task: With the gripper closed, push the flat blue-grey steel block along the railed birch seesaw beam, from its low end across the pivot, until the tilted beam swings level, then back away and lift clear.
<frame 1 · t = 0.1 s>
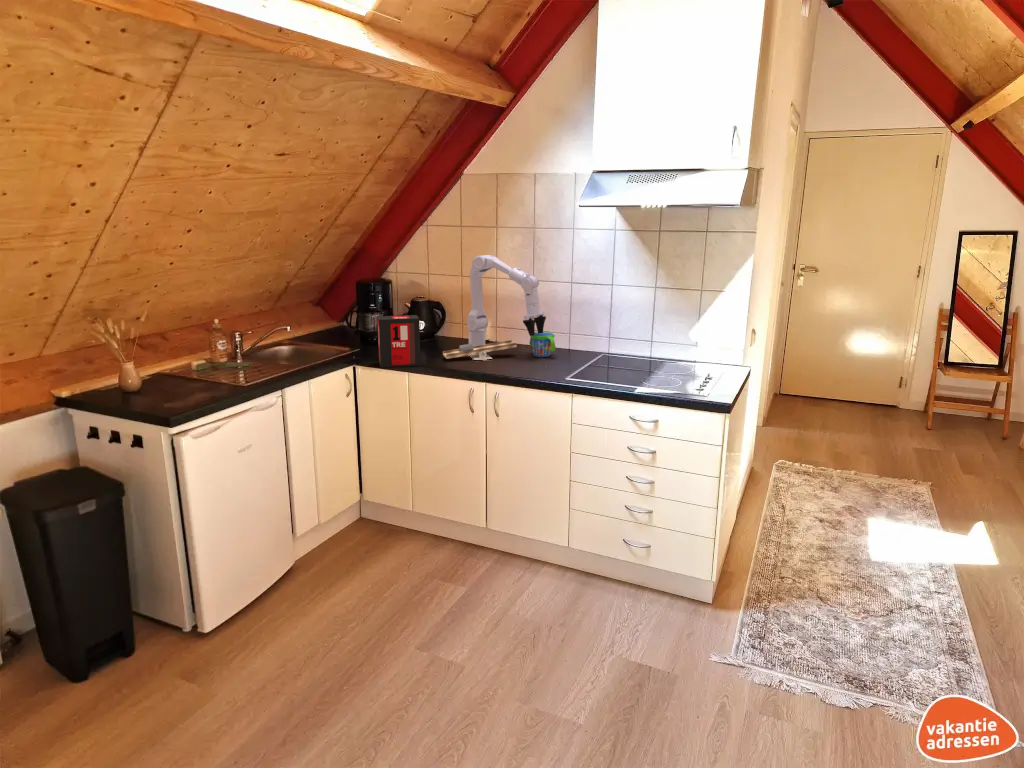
hand: (536, 334, 294), 11 cm above the counter, tool pointing down, fingers open, 7 cm apart
snack cup: (542, 356, 300), on the counter
steel block: (466, 351, 292), point 3 cm above the counter, tilted 6°, touching beam
cleaning product box: (399, 364, 282), on the counter
fulcrum stand: (479, 357, 295), on the counter
beam: (479, 349, 294), point 4 cm above the counter, hinge at -6.2°, touching steel block
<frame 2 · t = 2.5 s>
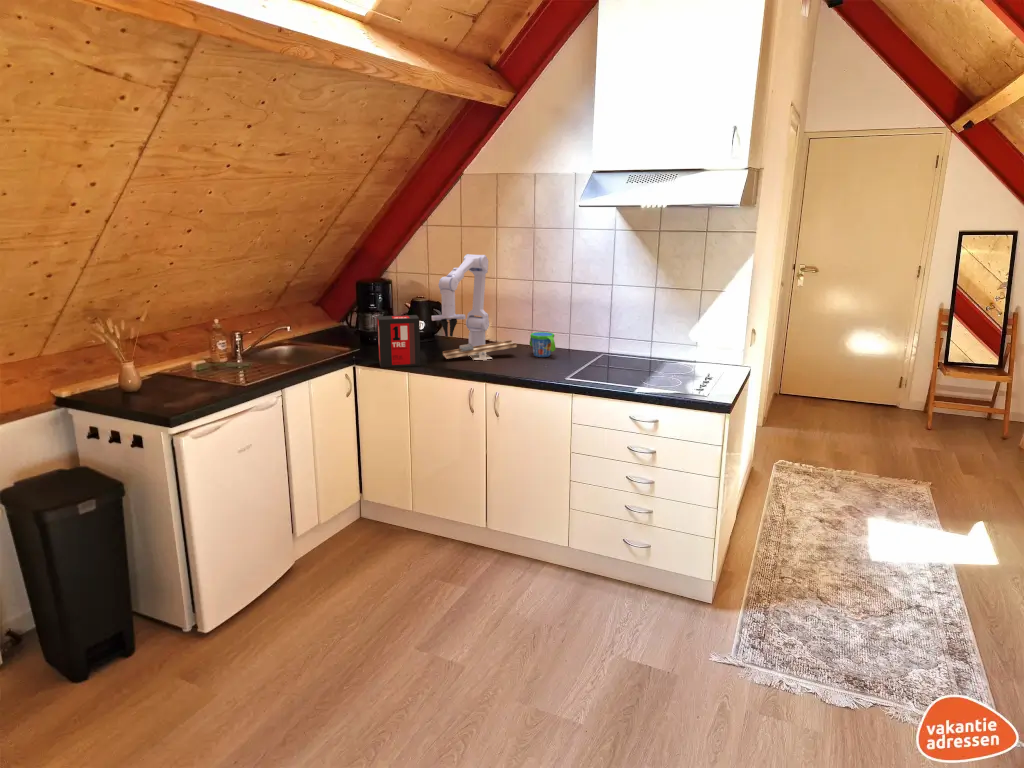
hand: (448, 336, 288), 10 cm above the counter, tool pointing down, fingers closed
nothing on the counter moved.
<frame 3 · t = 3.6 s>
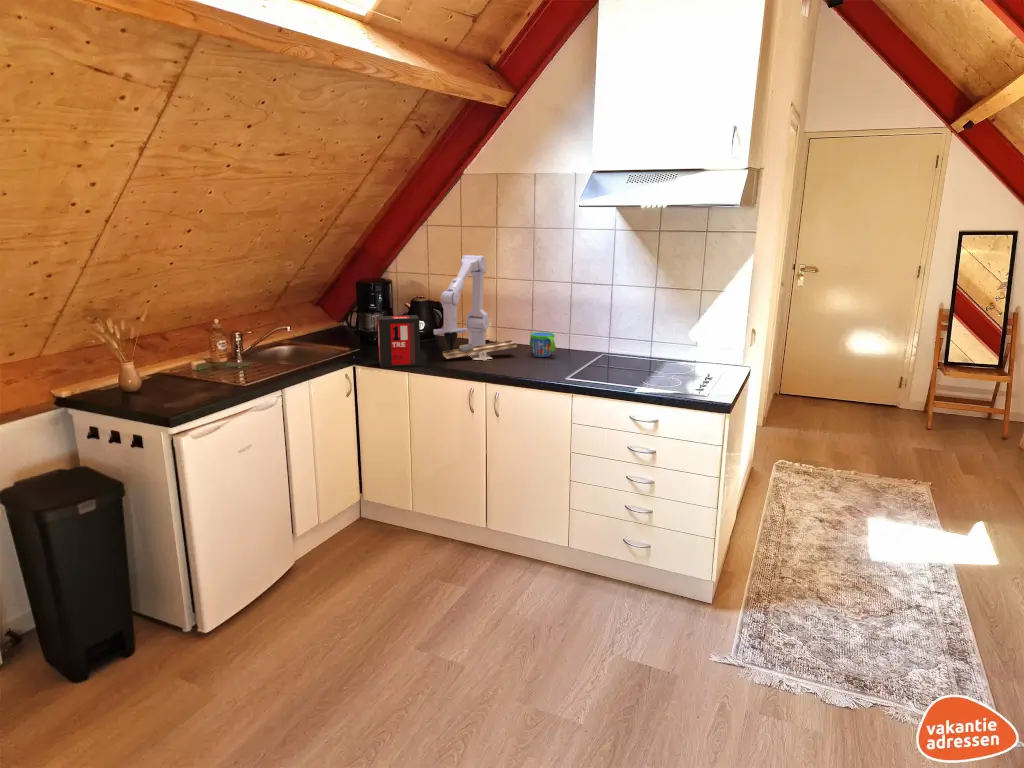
hand: (450, 349, 290), 4 cm above the counter, tool pointing down, fingers closed
nothing on the counter moved.
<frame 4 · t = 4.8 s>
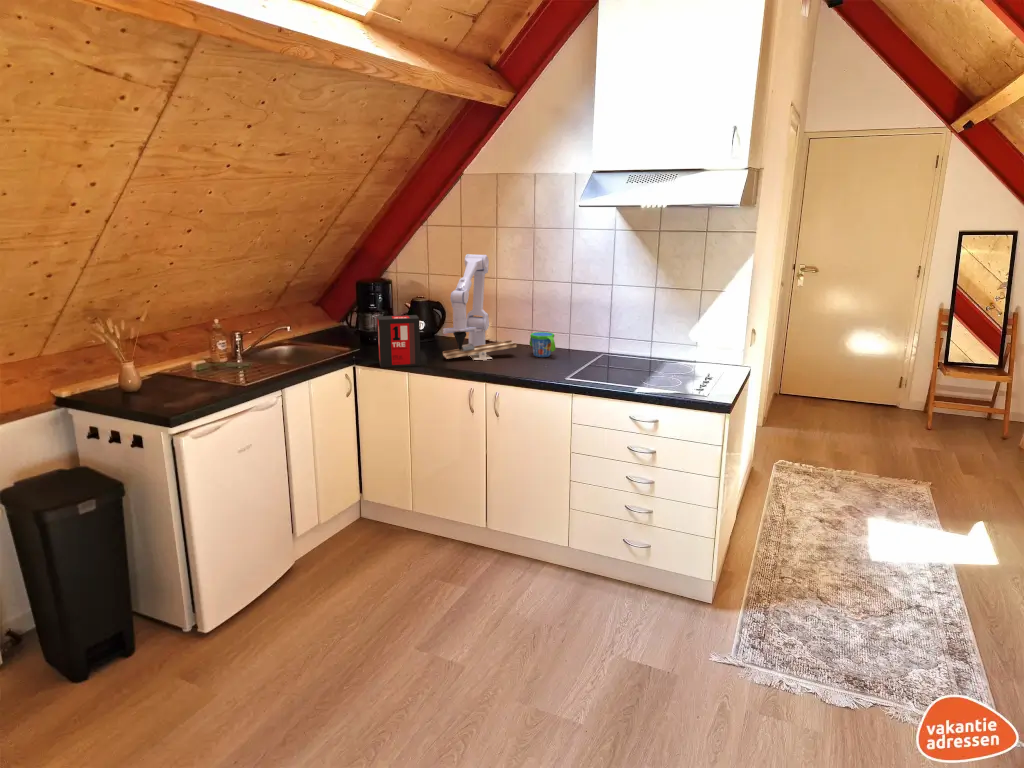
hand: (459, 348, 291), 5 cm above the counter, tool pointing down, fingers closed
steel block: (467, 351, 293), point 3 cm above the counter, tilted 6°, touching beam, gripper
everything else where it was.
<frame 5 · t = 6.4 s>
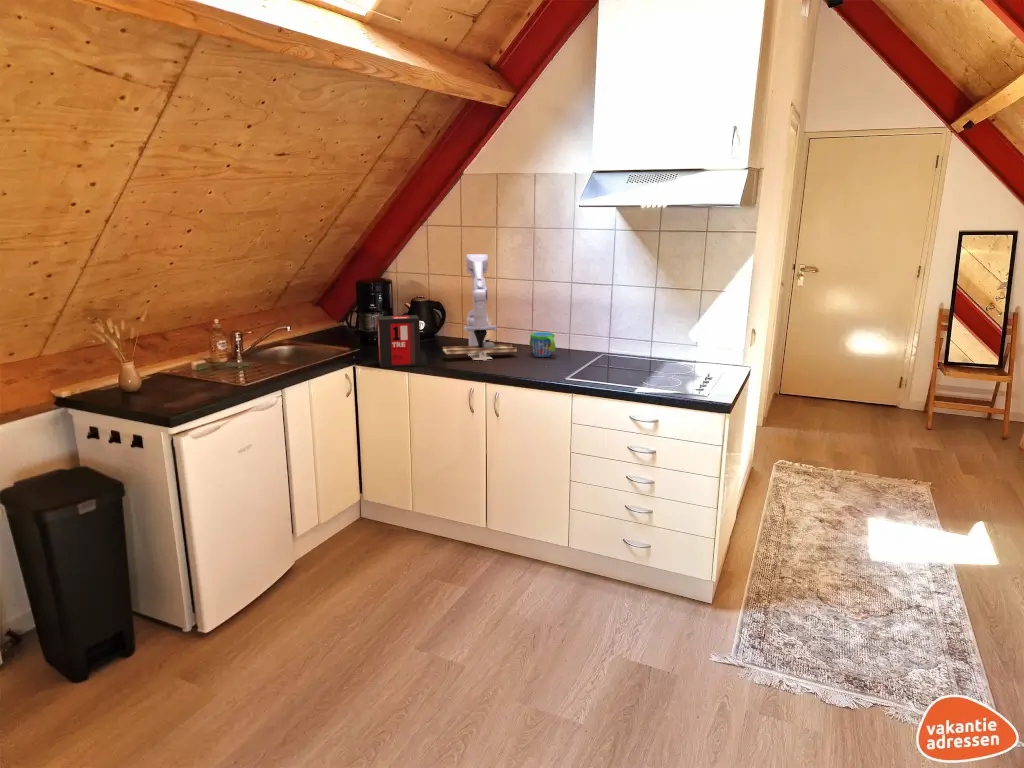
hand: (480, 346, 294), 5 cm above the counter, tool pointing down, fingers closed
steel block: (487, 348, 295), point 4 cm above the counter, touching gripper
beam: (479, 349, 294), point 4 cm above the counter, hinge at 1.3°
everything else where it was.
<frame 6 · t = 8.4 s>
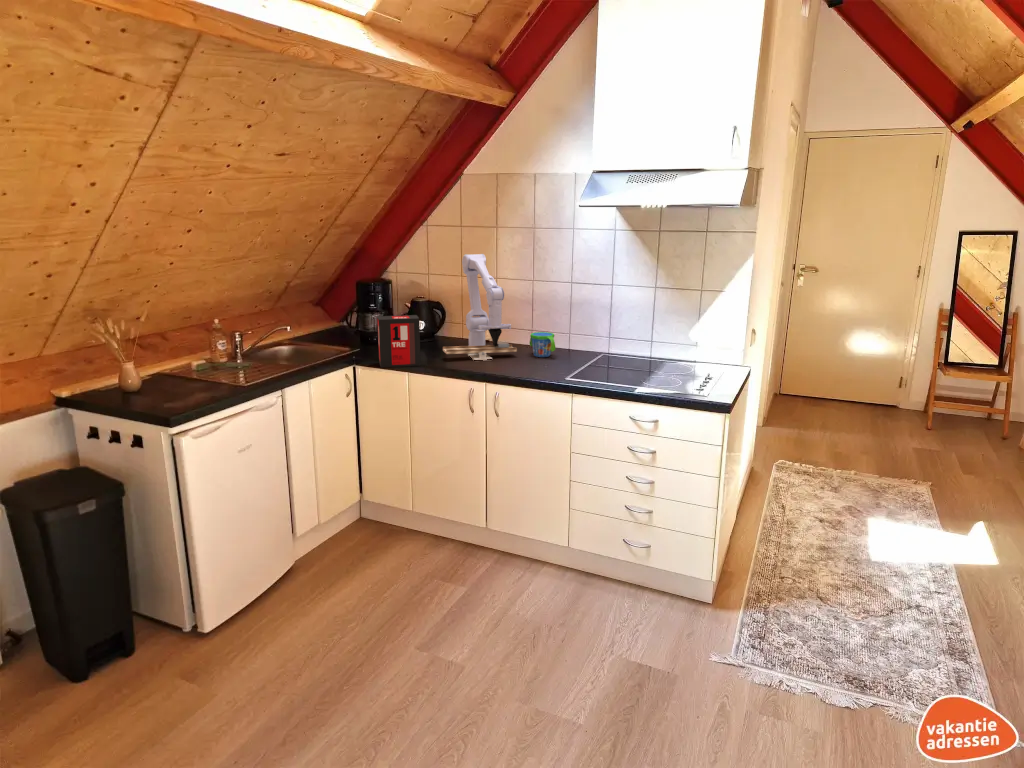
hand: (494, 345, 296), 5 cm above the counter, tool pointing down, fingers closed
steel block: (501, 348, 297), point 4 cm above the counter, touching beam, gripper
beam: (480, 349, 294), point 4 cm above the counter, hinge at 1.5°, touching steel block
everything else where it was.
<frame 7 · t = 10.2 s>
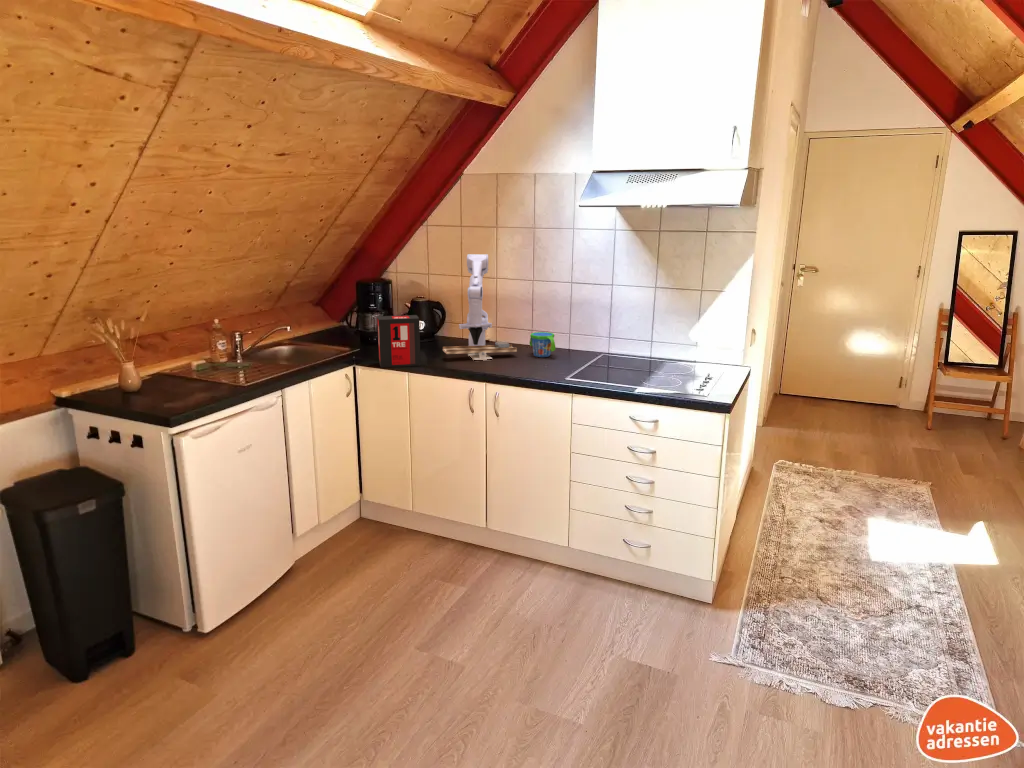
hand: (475, 344, 293), 6 cm above the counter, tool pointing down, fingers closed
steel block: (502, 348, 297), point 4 cm above the counter, touching beam
everything else where it was.
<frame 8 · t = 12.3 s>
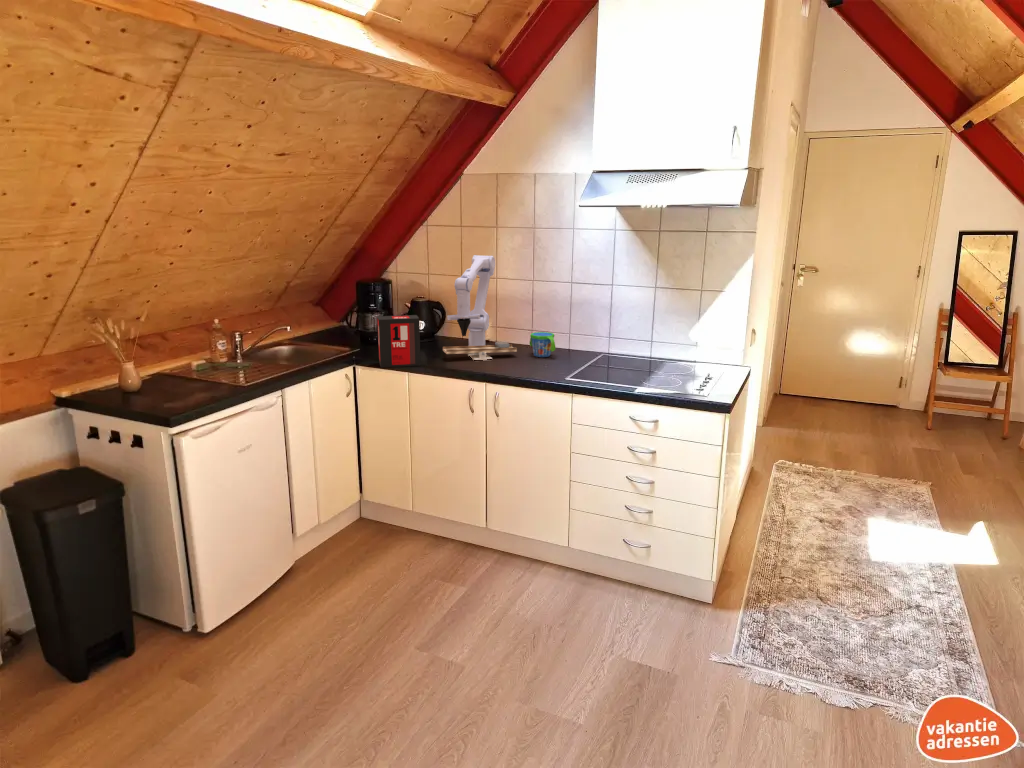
hand: (463, 335, 296), 9 cm above the counter, tool pointing down, fingers closed
nothing on the counter moved.
at the end: beam at +2° (first picture: -6°); steel block inside the target area (0.2 cm from its centre), point 3.7 cm above the counter; steel block tilted 2° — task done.
